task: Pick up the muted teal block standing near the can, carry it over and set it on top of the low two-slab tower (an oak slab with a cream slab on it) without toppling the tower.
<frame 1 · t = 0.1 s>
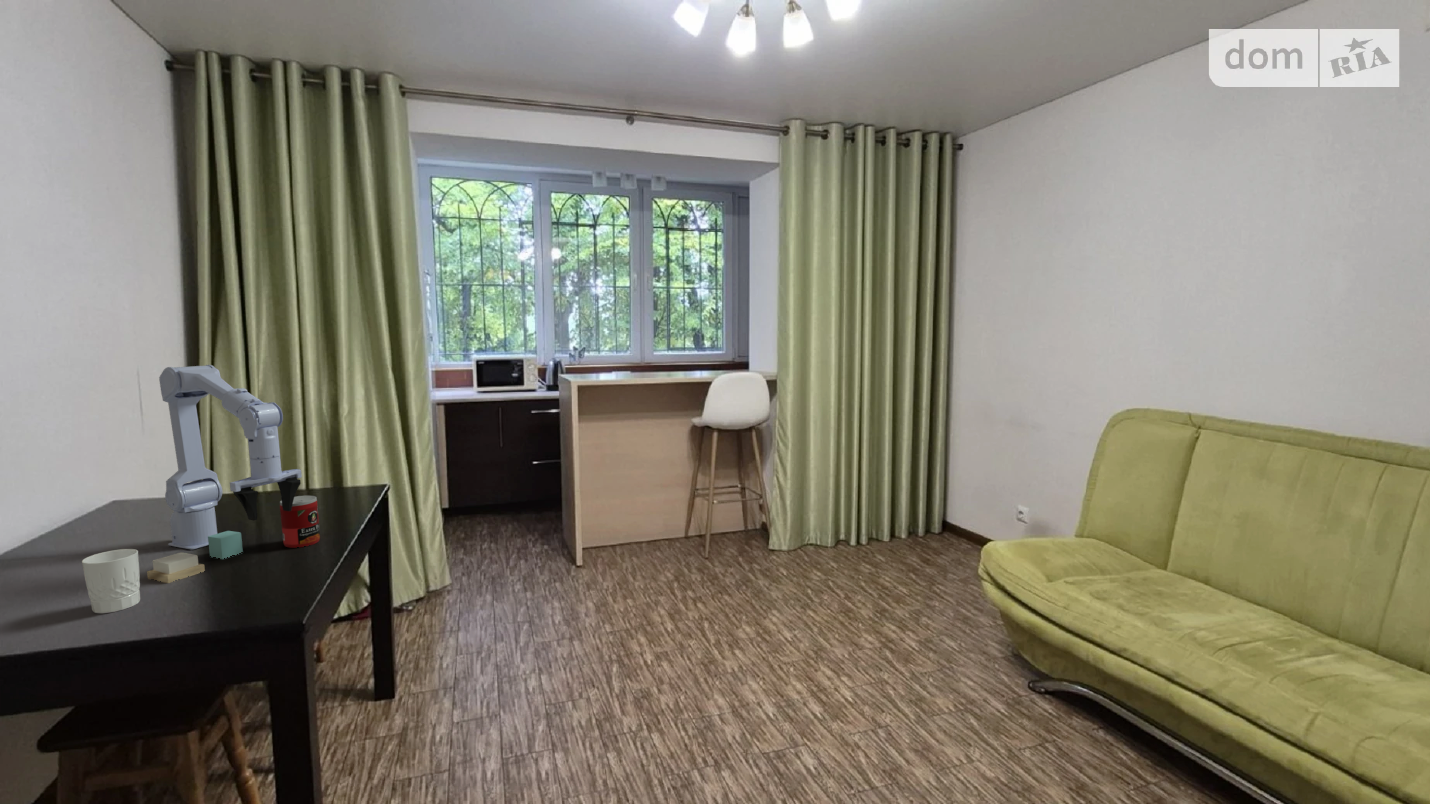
hand: (270, 515, 149), 10 cm above the table, tool pointing down, fingers open, 7 cm apart
cream slab: (176, 567, 140), point 2 cm above the table, touching oak slab
teal block: (226, 555, 153), on the table
white cup: (117, 607, 125), on the table
canned food: (302, 543, 160), on the table
oak slab: (177, 577, 140), on the table, touching cream slab
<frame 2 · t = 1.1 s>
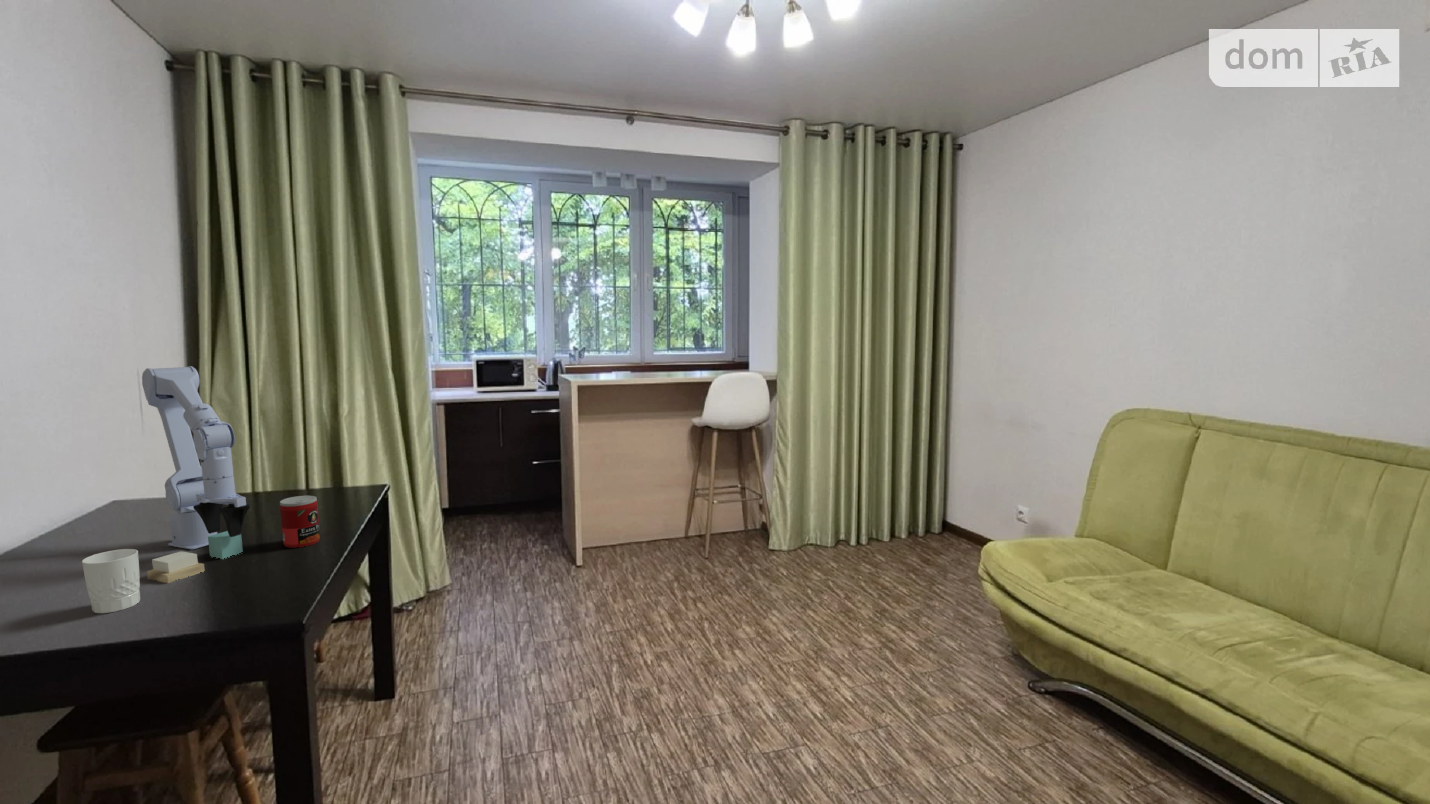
hand: (224, 534, 152), 5 cm above the table, tool pointing down, fingers open, 7 cm apart
nothing on the table moved.
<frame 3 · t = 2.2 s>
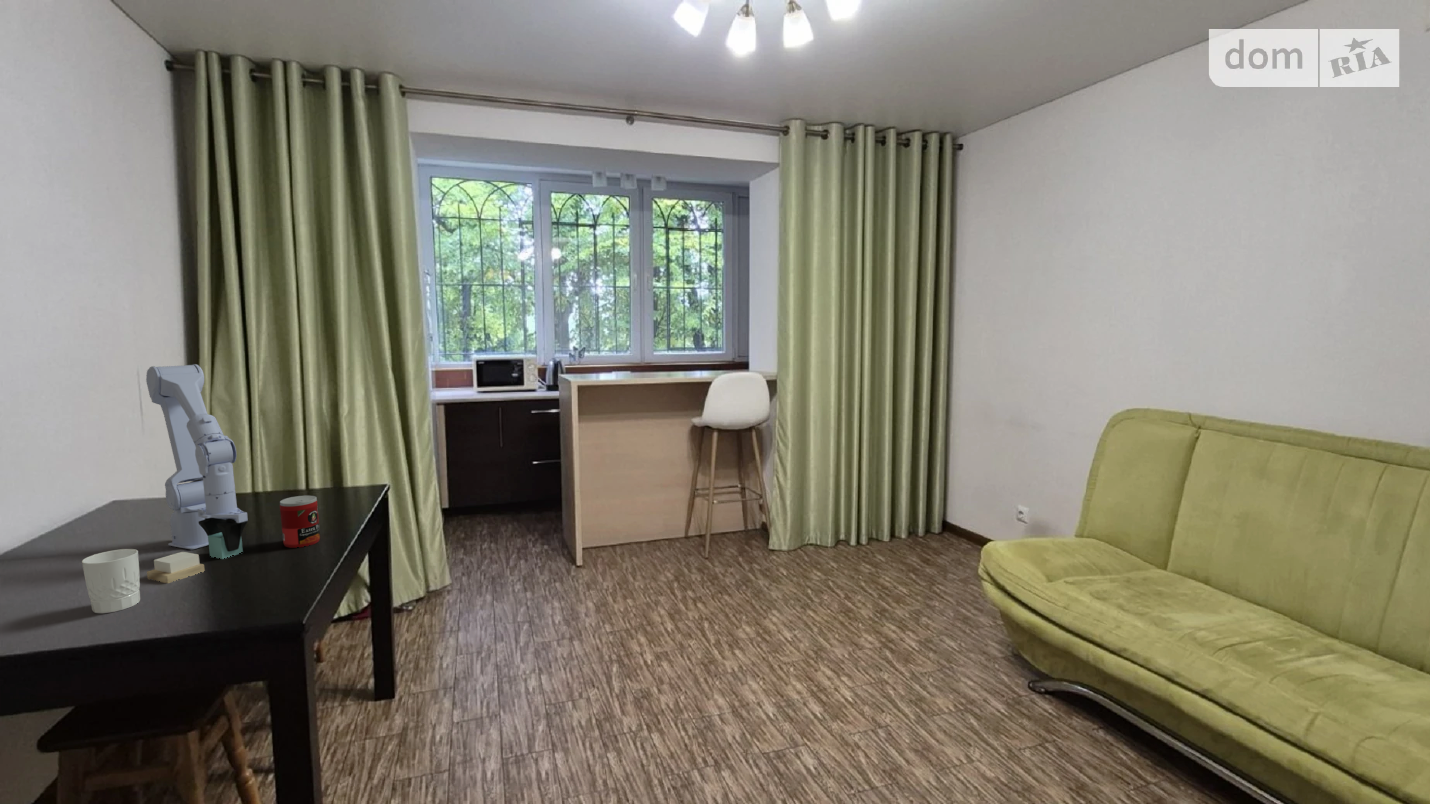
hand: (226, 548, 152), 1 cm above the table, tool pointing down, fingers closed on teal block, 4 cm apart
teal block: (226, 554, 153), on the table, touching gripper
everything else where it was.
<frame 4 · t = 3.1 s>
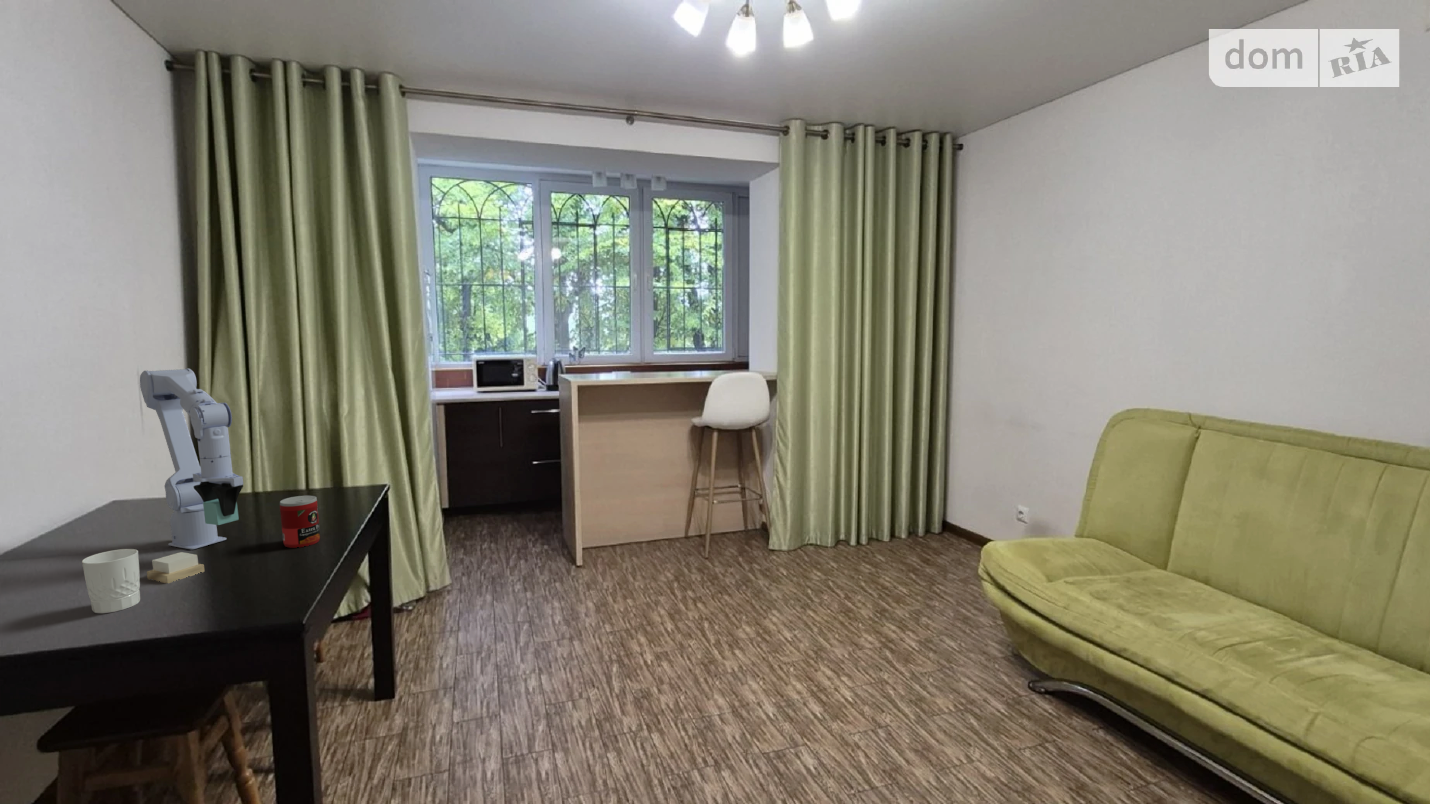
hand: (221, 513, 151), 10 cm above the table, tool pointing down, fingers closed on teal block, 4 cm apart
teal block: (222, 521, 151), point 8 cm above the table, touching gripper
everything else where it was.
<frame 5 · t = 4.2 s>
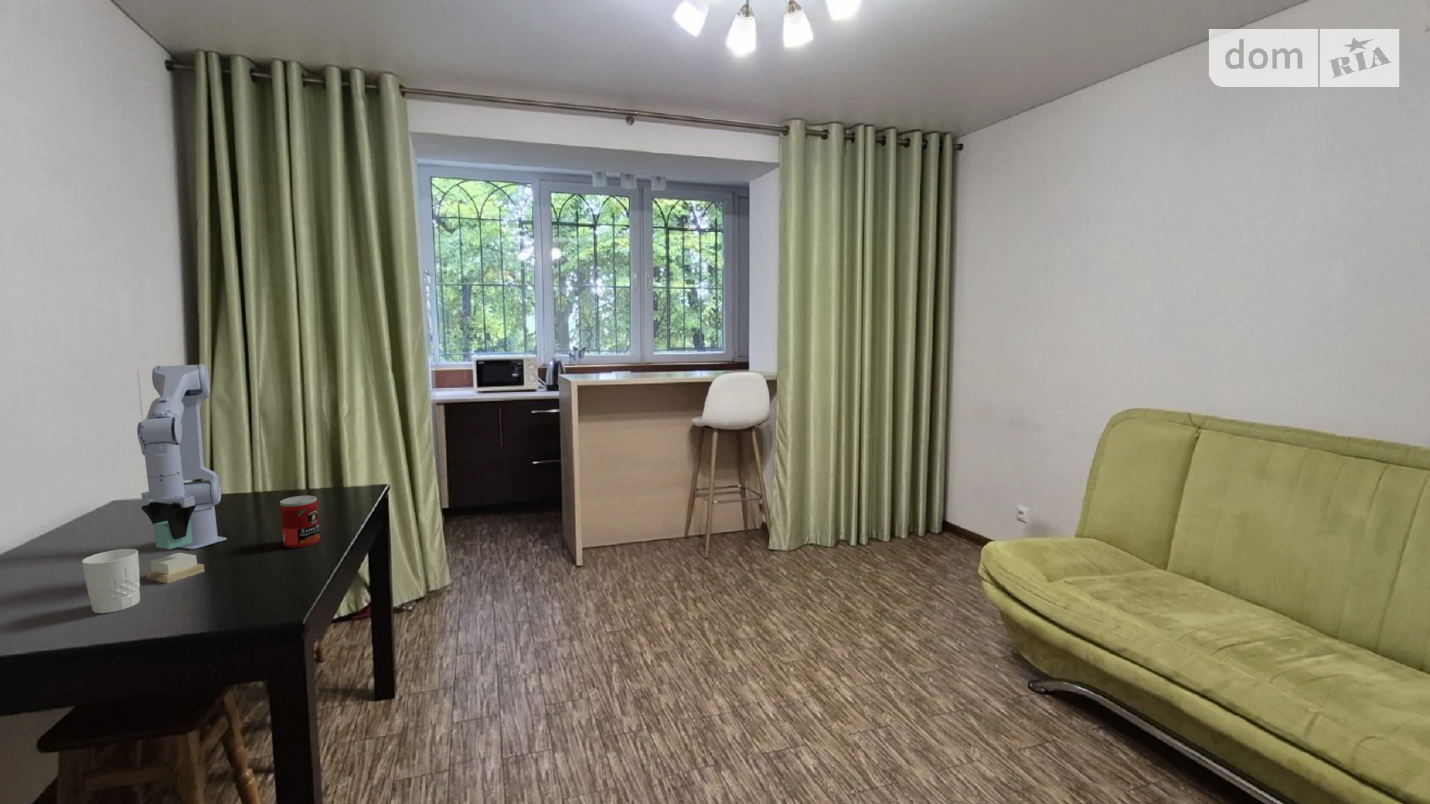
hand: (172, 536, 139), 9 cm above the table, tool pointing down, fingers closed on teal block, 4 cm apart
teal block: (174, 544, 140), point 7 cm above the table, touching gripper
everything else where it was.
when the fingers open (7 cm above the table, at t = 5.0 s): teal block drops 1 cm, point 4 cm above the table.
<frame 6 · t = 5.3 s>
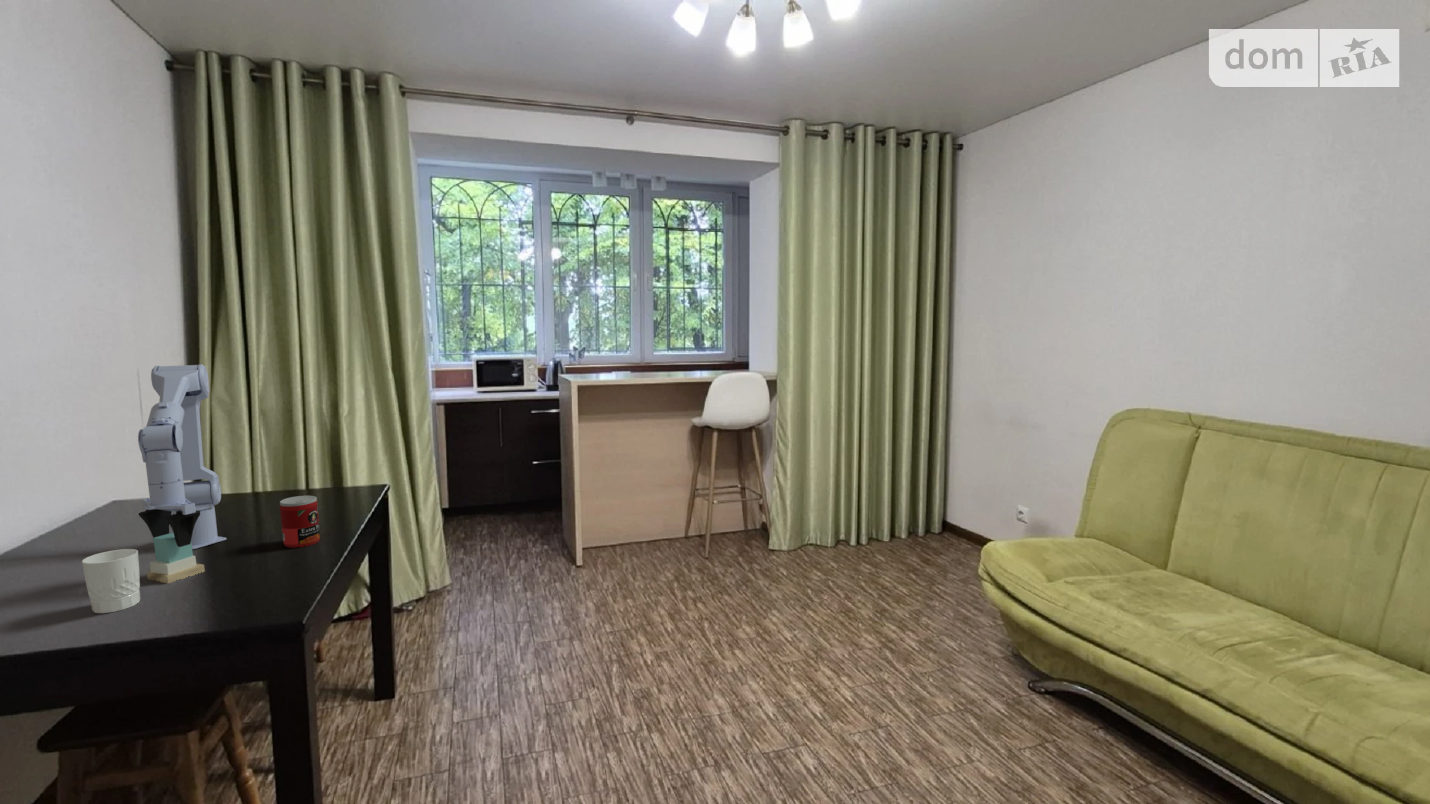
hand: (173, 543, 139), 7 cm above the table, tool pointing down, fingers open, 7 cm apart
teal block: (174, 558, 140), point 4 cm above the table
everything else where it was.
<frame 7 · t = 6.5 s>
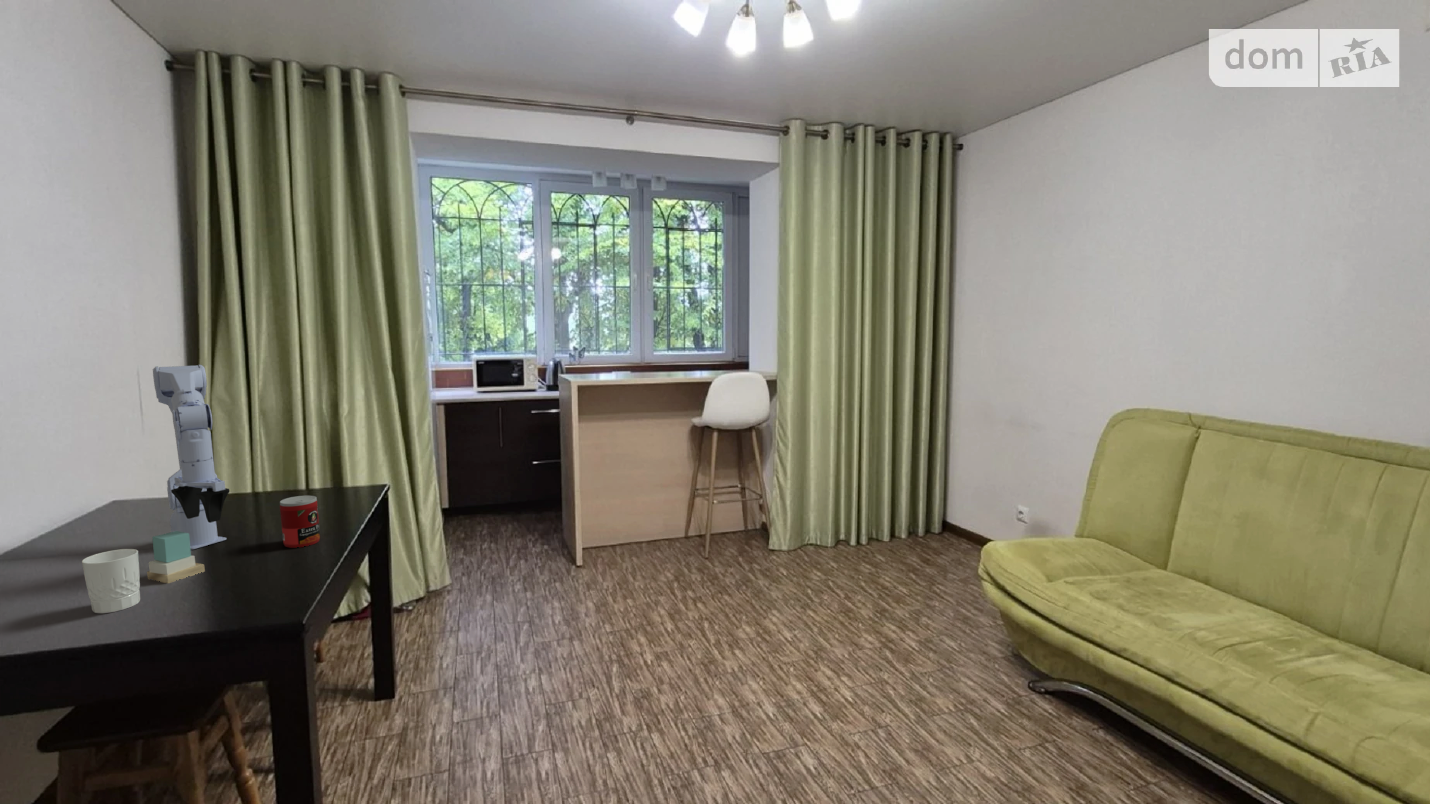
hand: (203, 519, 146), 10 cm above the table, tool pointing down, fingers open, 7 cm apart
nothing on the table moved.
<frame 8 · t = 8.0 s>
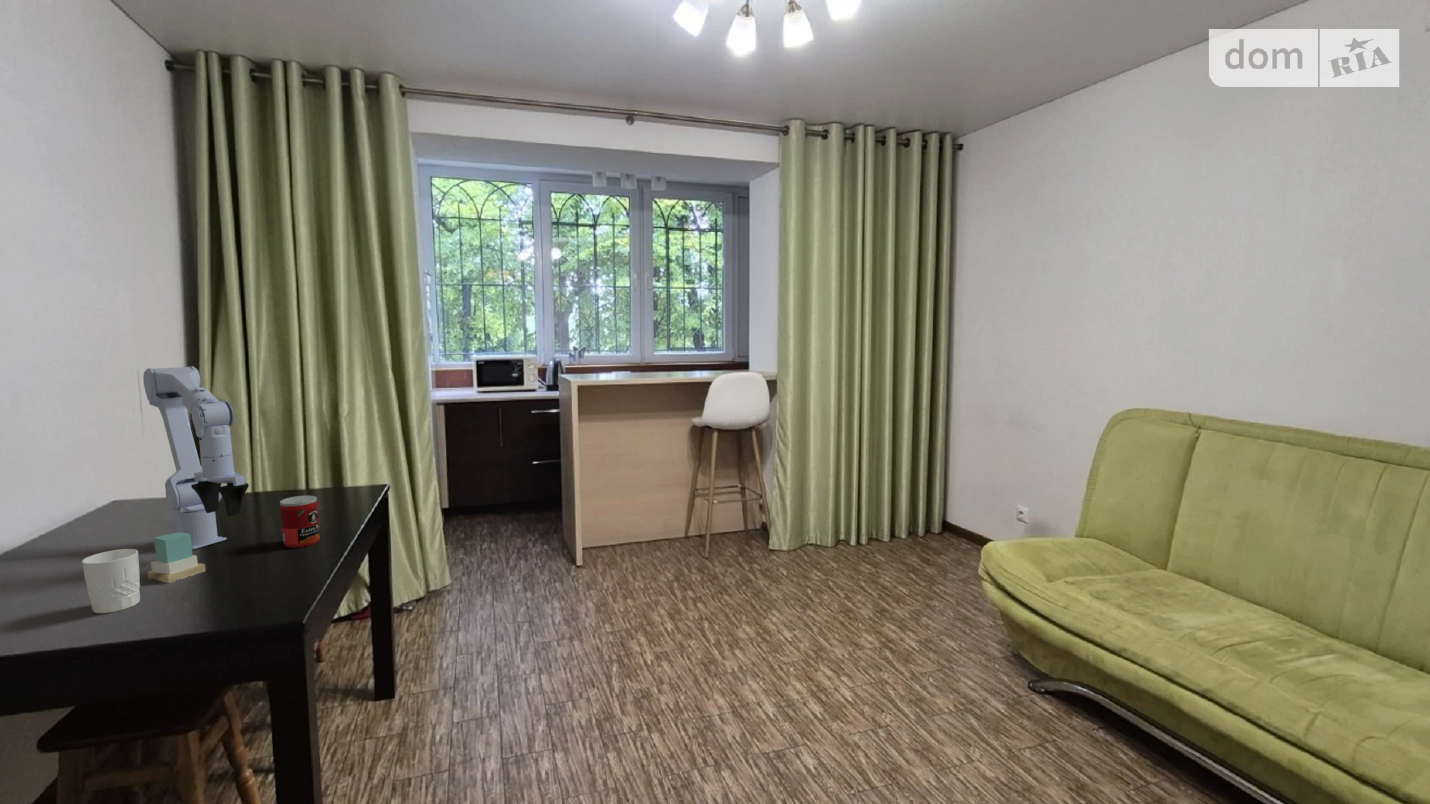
hand: (223, 513, 150), 10 cm above the table, tool pointing down, fingers open, 7 cm apart
cream slab: (175, 568, 140), point 2 cm above the table, touching oak slab, teal block
teal block: (174, 558, 140), point 4 cm above the table, touching cream slab
everything else where it was.
at the end: teal block 0.2 cm off-centre on the cream slab, point 2.2 cm above the cream slab's base; teal block tilted 0°; cream slab moved 0.8 cm from its start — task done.
